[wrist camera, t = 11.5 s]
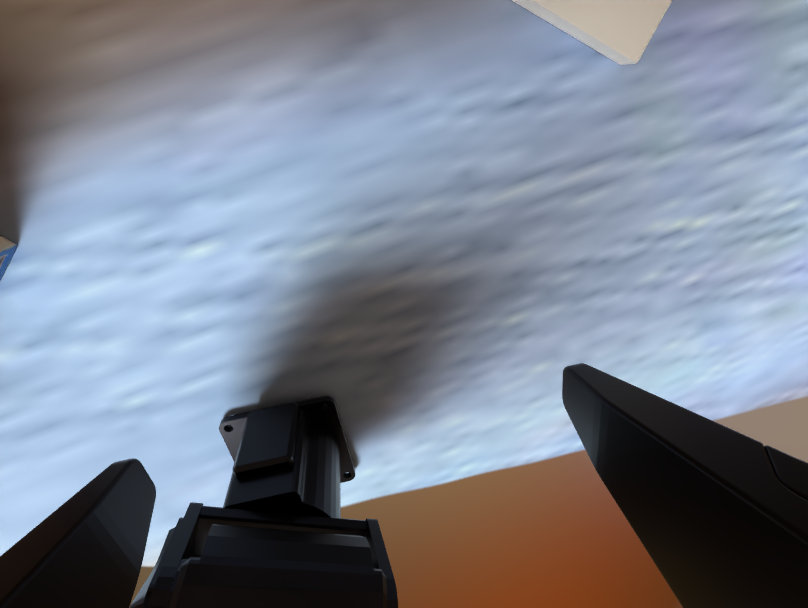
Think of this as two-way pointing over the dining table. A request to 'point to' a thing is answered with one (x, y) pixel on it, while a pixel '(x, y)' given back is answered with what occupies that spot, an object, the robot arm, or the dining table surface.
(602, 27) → the board
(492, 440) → the dining table surface
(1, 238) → the patterned box
